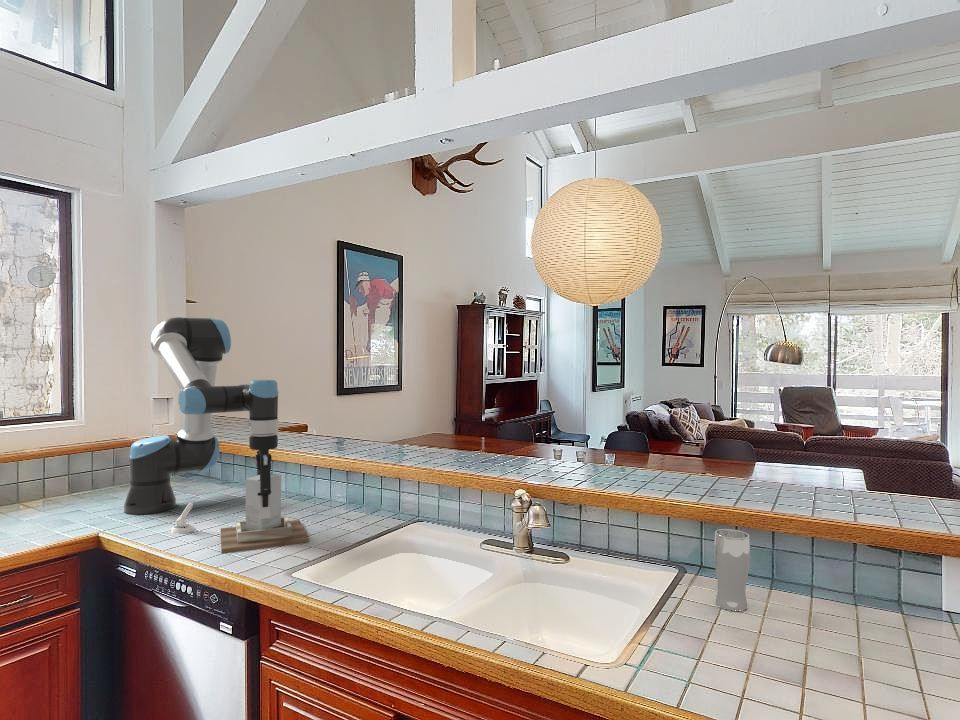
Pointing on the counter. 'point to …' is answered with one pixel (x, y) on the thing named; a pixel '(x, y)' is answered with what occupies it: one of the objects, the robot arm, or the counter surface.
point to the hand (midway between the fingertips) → (263, 513)
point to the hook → (183, 522)
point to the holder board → (262, 536)
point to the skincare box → (254, 504)
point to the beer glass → (731, 568)
